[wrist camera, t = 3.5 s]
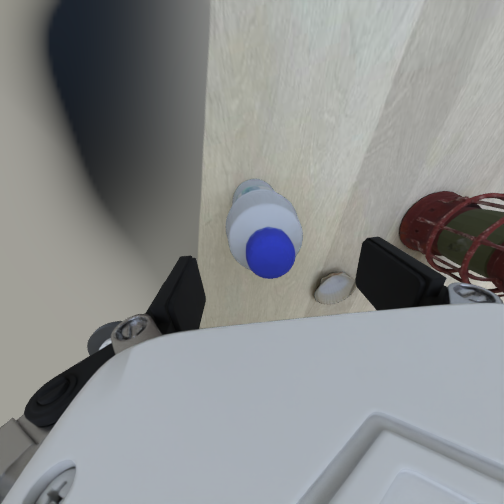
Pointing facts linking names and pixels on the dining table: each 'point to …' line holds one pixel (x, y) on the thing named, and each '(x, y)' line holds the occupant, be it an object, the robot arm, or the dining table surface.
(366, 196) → the dining table surface
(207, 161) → the dining table surface
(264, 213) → the bottle
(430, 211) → the lantern
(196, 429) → the robot arm
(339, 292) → the seashell
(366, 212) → the dining table surface
